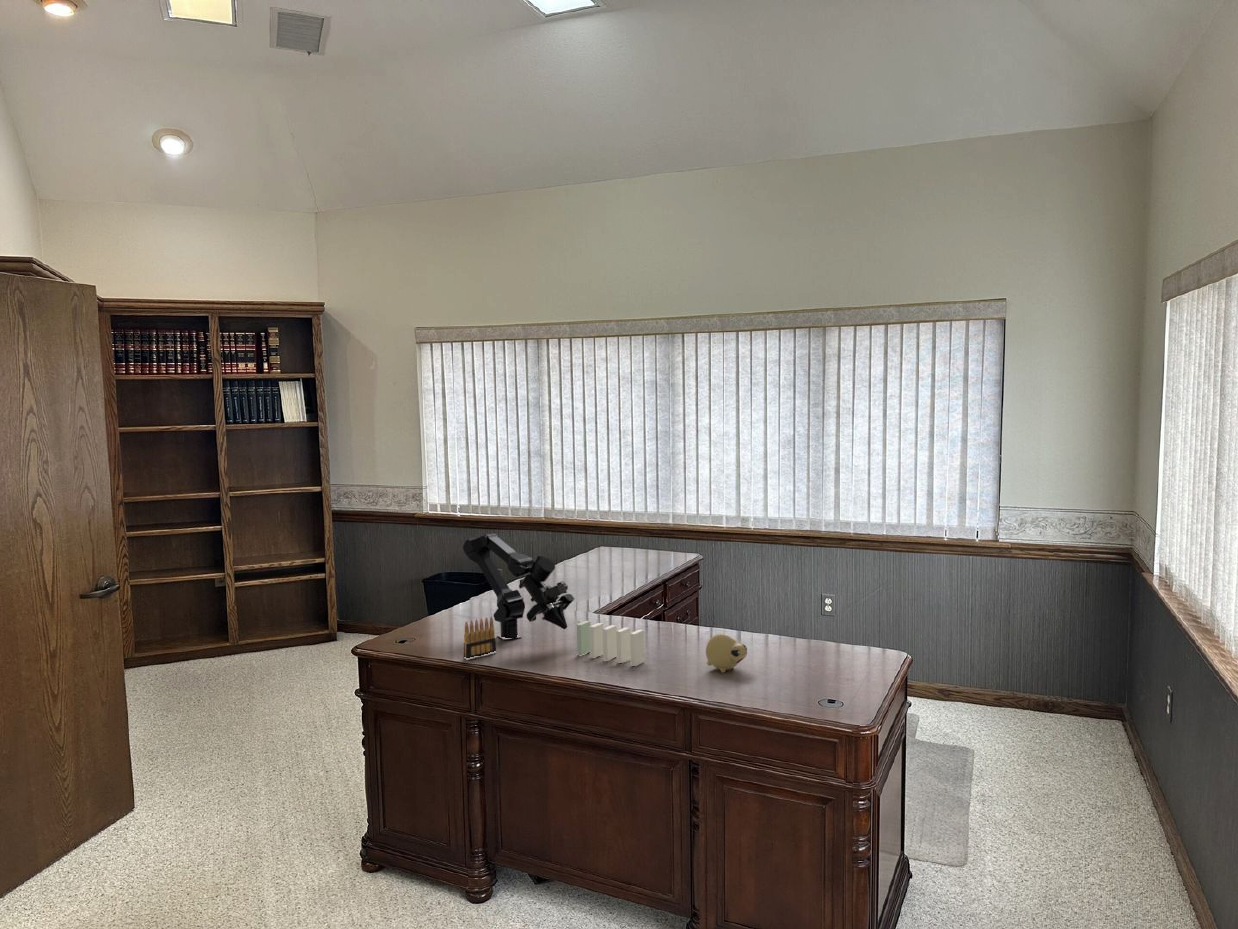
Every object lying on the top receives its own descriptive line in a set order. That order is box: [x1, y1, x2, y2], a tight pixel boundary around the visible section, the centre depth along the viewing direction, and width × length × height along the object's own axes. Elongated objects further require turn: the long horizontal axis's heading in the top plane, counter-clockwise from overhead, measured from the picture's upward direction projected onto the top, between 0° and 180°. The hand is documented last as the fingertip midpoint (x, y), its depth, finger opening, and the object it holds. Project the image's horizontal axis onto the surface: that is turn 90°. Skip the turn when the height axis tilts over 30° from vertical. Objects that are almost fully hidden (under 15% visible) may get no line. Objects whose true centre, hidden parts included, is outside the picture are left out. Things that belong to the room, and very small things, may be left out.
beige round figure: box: [705, 633, 748, 674], centre depth 252 cm, size 10×12×11 cm
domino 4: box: [616, 626, 631, 663], centre depth 262 cm, size 2×5×10 cm, turn 146°
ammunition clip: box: [463, 615, 497, 658], centre depth 271 cm, size 11×2×12 cm, turn 128°
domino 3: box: [602, 624, 617, 661], centre depth 265 cm, size 2×5×10 cm, turn 146°
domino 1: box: [576, 620, 591, 655], centre depth 271 cm, size 2×5×10 cm, turn 146°
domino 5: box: [630, 629, 645, 667], centre depth 260 cm, size 2×5×10 cm, turn 146°
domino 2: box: [589, 622, 604, 658], centre depth 268 cm, size 2×5×10 cm, turn 146°
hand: (566, 628), depth 274 cm, fingers closed
